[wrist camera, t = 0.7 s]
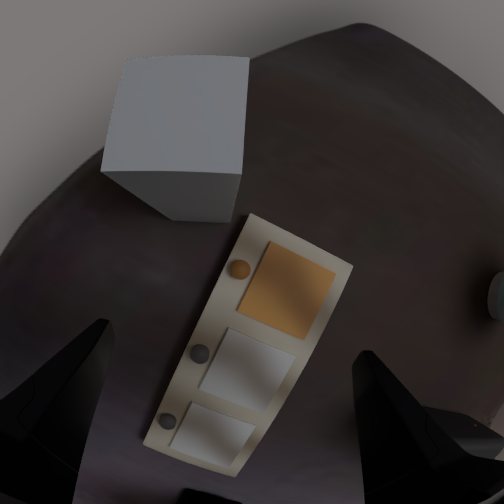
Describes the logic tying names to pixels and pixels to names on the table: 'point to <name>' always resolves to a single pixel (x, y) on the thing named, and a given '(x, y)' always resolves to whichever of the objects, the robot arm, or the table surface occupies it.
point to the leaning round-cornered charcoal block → (468, 433)
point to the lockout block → (180, 134)
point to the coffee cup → (496, 297)
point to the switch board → (247, 348)
